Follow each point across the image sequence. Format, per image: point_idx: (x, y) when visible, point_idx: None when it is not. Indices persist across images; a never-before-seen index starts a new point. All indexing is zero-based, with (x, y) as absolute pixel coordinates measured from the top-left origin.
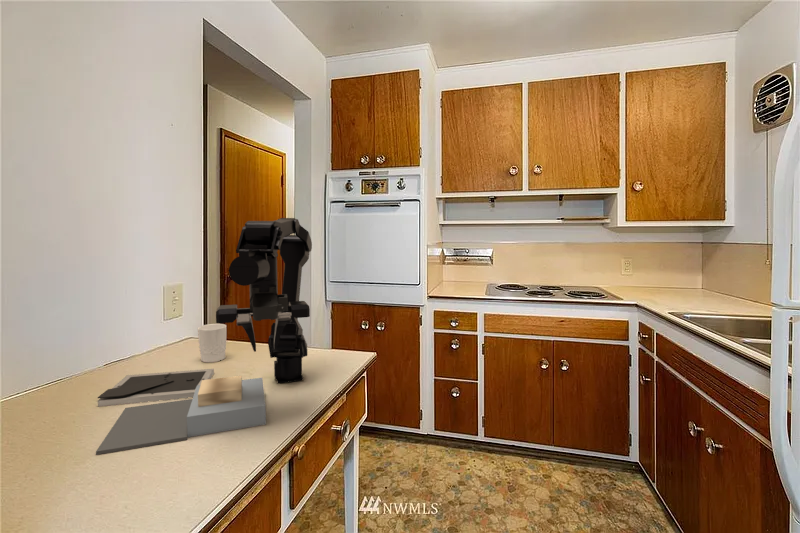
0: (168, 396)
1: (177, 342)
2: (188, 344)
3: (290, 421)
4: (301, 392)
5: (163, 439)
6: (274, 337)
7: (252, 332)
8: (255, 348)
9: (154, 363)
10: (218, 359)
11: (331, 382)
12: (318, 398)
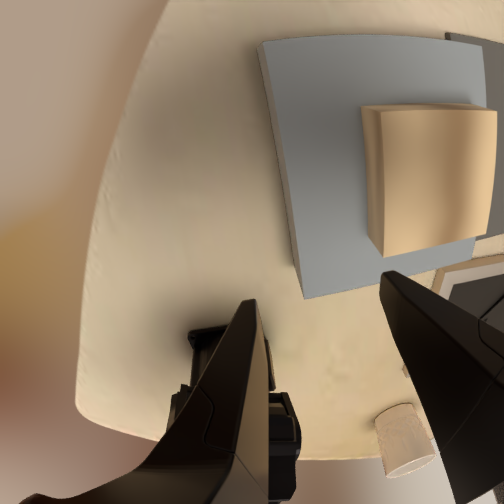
0: (491, 261)
1: None
2: None
3: (178, 60)
4: (175, 261)
5: (485, 44)
6: (262, 388)
7: (485, 359)
8: (393, 281)
9: None
10: (388, 412)
11: (107, 311)
12: (115, 215)
